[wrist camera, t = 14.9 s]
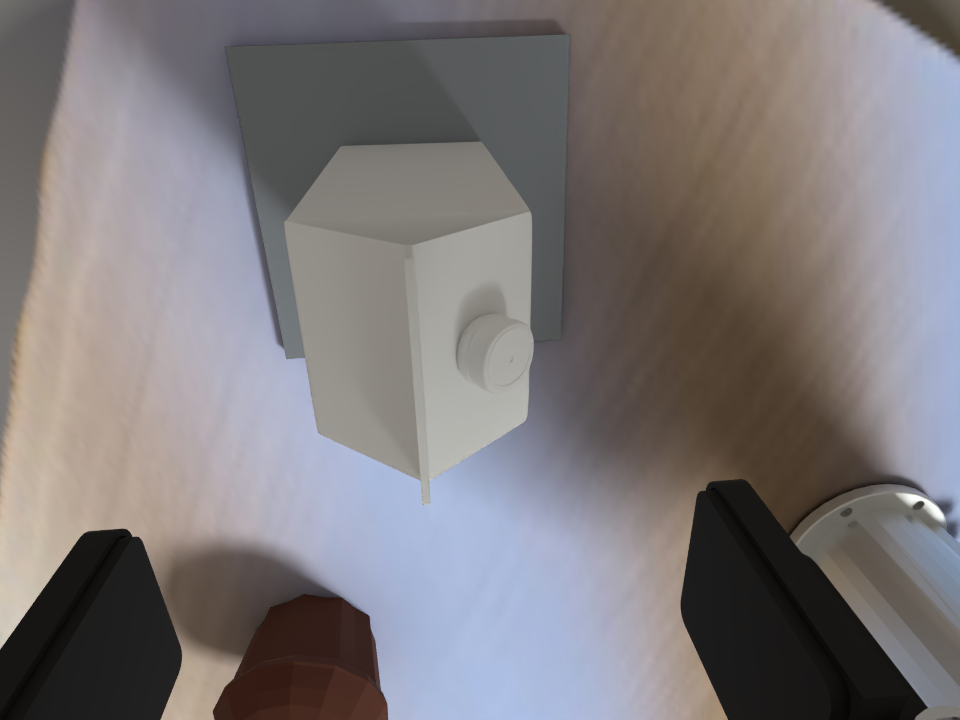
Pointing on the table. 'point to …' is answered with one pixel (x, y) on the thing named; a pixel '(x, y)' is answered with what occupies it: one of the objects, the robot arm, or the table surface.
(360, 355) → the milk carton
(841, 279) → the table surface
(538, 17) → the table surface
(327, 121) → the mat
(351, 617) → the muffin
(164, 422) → the table surface
